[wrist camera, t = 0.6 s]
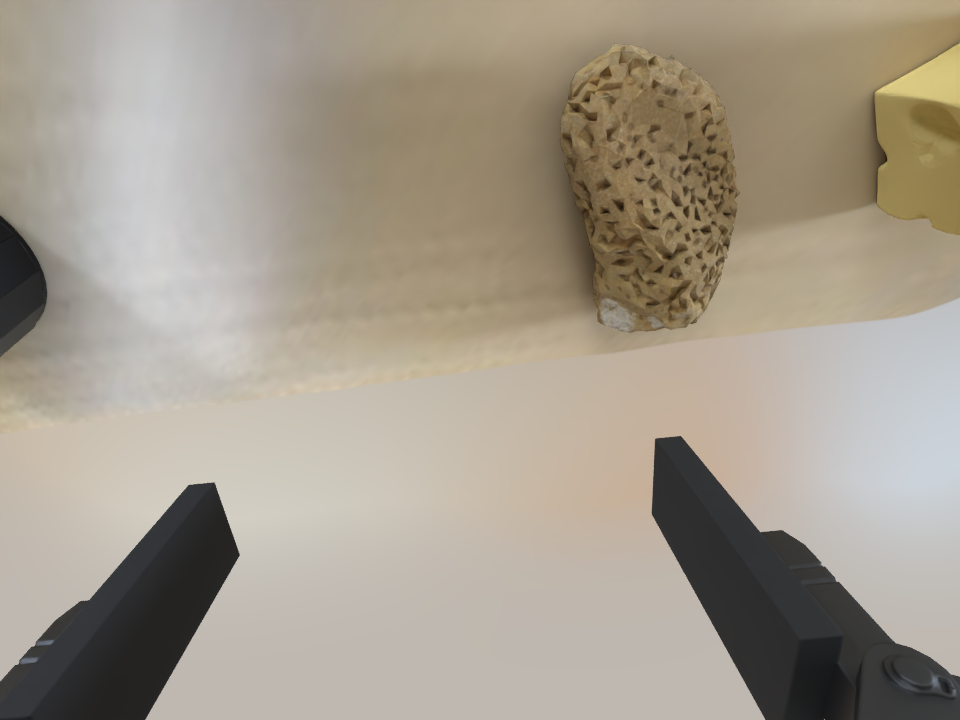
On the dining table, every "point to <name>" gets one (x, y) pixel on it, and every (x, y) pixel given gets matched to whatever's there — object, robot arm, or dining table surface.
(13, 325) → the black round bowl
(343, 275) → the dining table surface
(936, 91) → the cheese
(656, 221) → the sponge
